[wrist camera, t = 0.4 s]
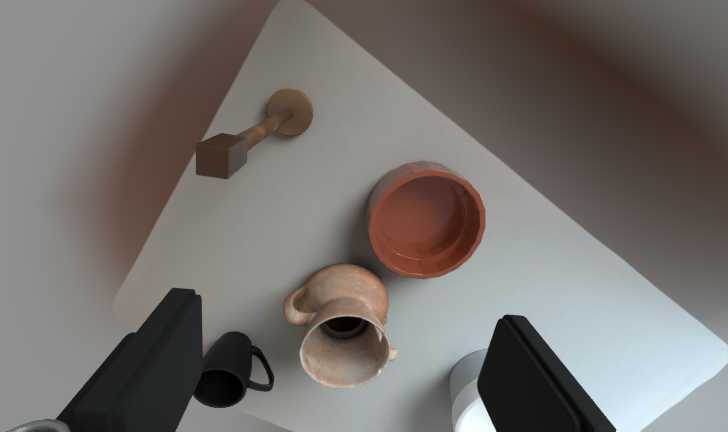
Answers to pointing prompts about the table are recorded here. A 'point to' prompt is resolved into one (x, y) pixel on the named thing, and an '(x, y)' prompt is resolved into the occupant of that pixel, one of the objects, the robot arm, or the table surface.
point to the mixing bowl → (424, 220)
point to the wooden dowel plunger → (254, 135)
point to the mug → (230, 371)
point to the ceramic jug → (342, 325)
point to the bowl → (468, 396)
